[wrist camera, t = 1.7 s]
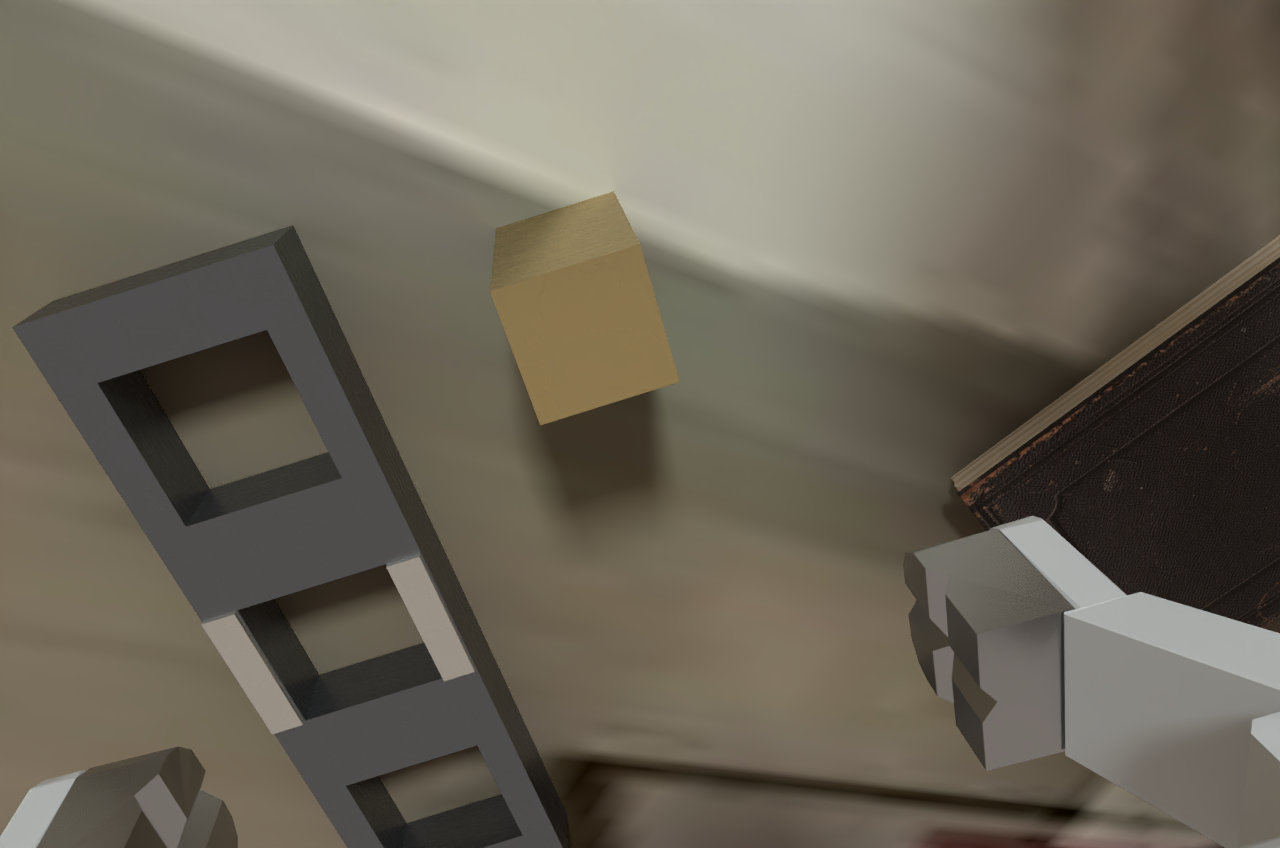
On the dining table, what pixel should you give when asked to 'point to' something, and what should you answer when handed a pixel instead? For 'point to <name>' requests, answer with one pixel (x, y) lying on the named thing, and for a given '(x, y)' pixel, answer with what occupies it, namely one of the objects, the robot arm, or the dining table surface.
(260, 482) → the grey slotted tray
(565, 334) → the block
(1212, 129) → the dining table surface
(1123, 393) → the hardcover book
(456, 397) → the dining table surface
